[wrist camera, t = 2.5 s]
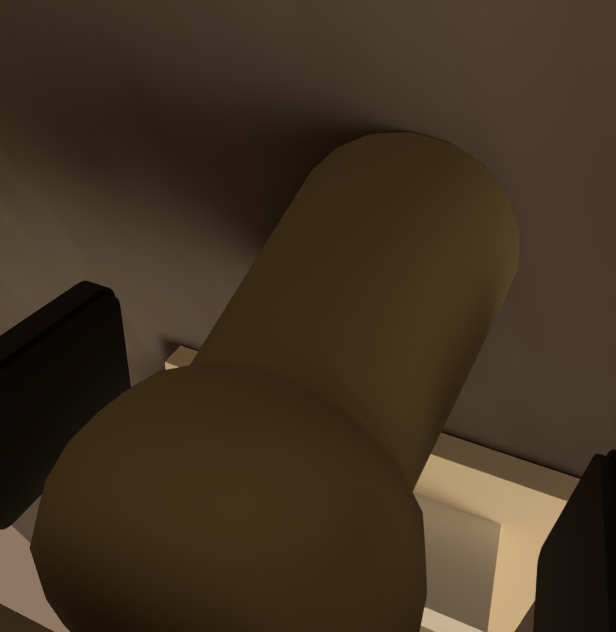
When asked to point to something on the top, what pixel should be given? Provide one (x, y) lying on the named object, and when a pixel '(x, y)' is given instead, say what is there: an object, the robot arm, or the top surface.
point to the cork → (293, 417)
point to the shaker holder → (477, 530)
